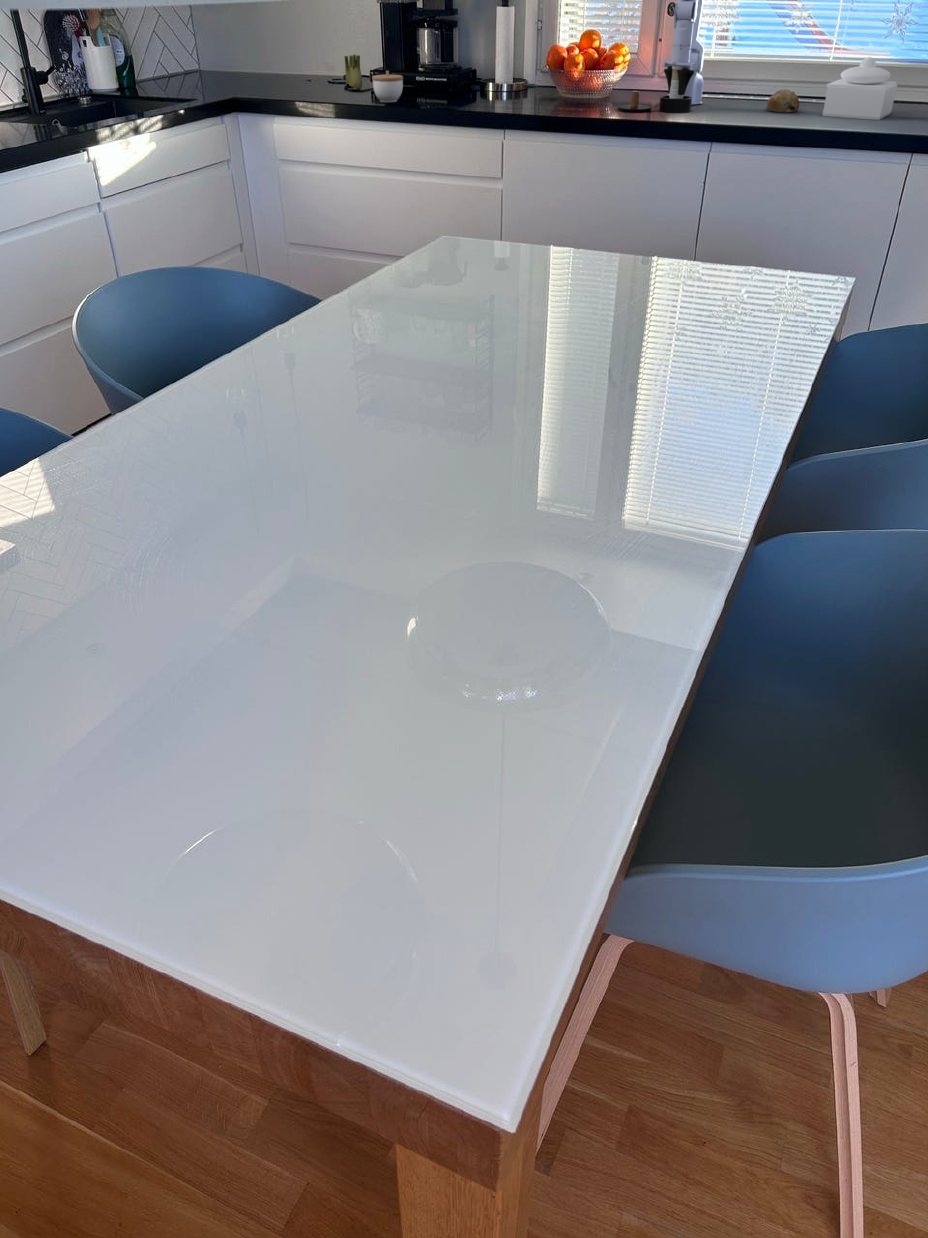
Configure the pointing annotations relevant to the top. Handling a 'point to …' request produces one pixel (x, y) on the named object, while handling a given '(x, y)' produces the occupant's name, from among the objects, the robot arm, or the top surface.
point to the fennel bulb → (353, 72)
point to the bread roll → (783, 102)
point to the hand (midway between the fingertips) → (676, 93)
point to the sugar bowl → (388, 87)
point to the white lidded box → (861, 93)
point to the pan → (675, 104)
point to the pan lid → (634, 104)
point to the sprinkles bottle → (675, 83)
